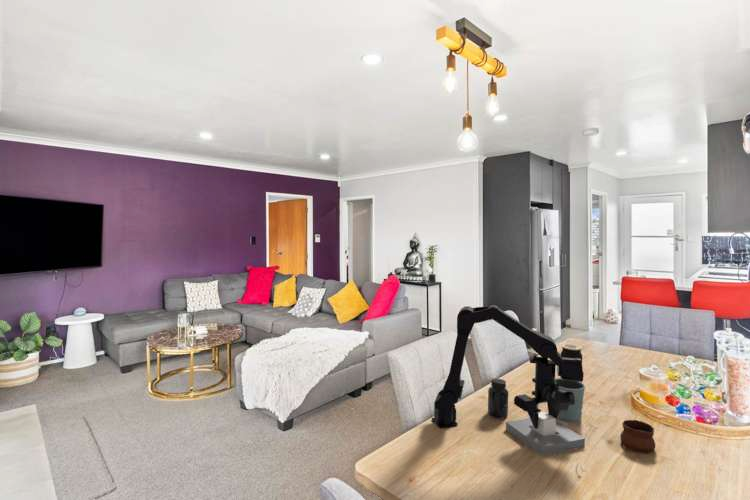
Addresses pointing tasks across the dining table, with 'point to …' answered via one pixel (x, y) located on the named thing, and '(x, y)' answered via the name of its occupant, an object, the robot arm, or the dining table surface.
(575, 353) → the travel mug
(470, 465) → the dining table surface
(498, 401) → the supplement bottle
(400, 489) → the dining table surface
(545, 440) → the socket
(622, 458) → the dining table surface
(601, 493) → the dining table surface
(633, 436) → the ceramic pot
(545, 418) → the plug
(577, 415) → the teal cup
